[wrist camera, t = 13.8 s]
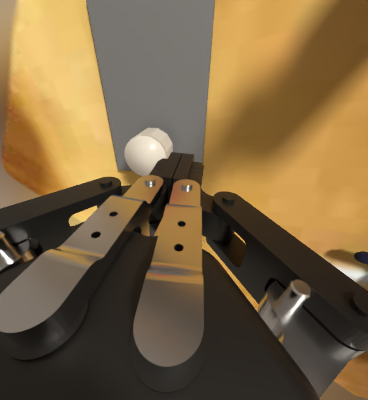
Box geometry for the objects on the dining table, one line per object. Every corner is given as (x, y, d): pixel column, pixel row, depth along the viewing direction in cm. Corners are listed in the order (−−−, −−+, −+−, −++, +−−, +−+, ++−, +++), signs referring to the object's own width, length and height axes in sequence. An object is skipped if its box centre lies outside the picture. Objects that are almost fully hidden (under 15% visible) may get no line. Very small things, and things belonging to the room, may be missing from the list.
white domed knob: (134, 127, 29) (121, 135, 25) (172, 128, 29) (164, 137, 24) (139, 163, 32) (127, 175, 28) (172, 165, 32) (166, 178, 28)
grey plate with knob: (90, -8, 24) (46, -39, 18) (215, -12, 22) (216, -48, 16) (121, 166, 37) (102, 184, 31) (201, 172, 35) (199, 192, 29)
